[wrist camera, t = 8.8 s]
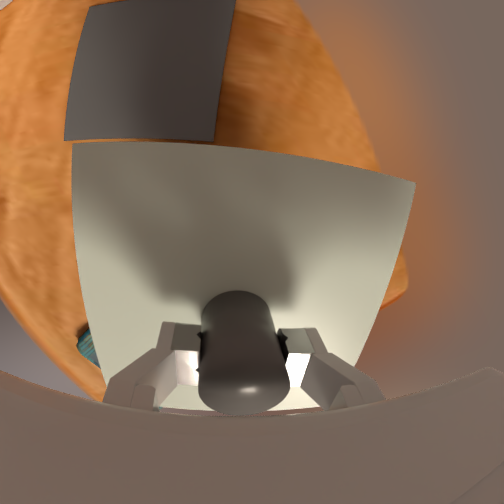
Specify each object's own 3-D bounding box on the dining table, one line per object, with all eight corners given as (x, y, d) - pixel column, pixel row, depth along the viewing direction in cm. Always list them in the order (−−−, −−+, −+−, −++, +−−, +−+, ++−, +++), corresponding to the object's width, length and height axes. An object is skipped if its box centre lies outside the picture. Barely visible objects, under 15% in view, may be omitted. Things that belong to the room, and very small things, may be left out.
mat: (91, 8, 16) (89, 7, 16) (235, 0, 19) (236, -2, 18) (66, 140, 22) (63, 141, 22) (213, 141, 25) (213, 141, 24)
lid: (81, 142, 9) (5, 154, 4) (405, 179, 11) (482, 208, 7) (114, 389, 14) (97, 452, 10) (330, 395, 16) (353, 453, 12)
